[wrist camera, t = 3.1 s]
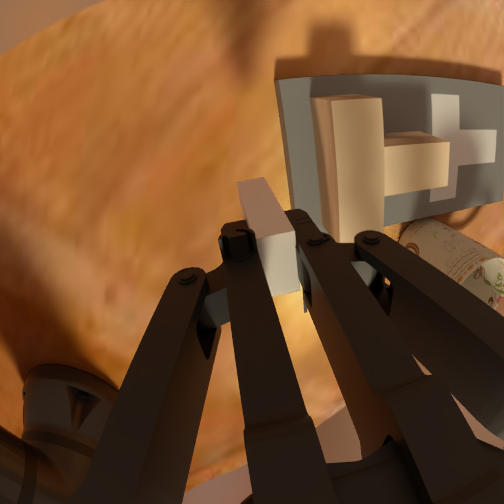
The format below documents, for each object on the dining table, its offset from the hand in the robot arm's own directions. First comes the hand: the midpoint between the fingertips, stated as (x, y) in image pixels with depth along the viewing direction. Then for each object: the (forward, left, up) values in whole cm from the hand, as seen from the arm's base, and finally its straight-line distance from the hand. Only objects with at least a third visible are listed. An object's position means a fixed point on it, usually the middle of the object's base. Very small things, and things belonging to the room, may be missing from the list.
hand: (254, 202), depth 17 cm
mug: (+19, -11, -7) cm, 23 cm away
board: (+16, 0, -7) cm, 18 cm away
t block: (+10, 0, -6) cm, 12 cm away
